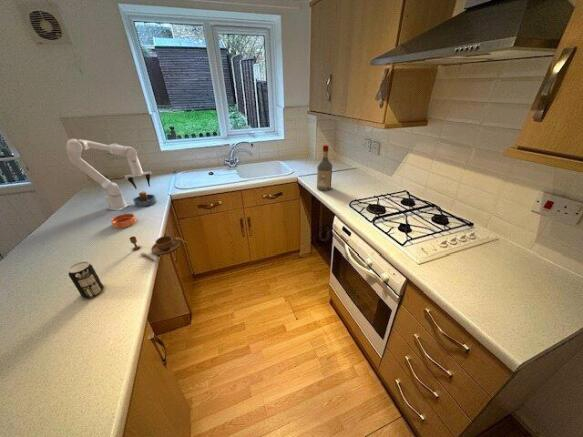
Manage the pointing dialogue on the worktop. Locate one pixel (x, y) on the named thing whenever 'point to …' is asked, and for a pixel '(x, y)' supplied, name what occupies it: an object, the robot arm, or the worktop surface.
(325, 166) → the liquor
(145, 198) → the spice jar
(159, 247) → the place setting
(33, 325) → the worktop surface
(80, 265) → the beverage can
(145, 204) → the blue bowl
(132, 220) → the terracotta bowl
